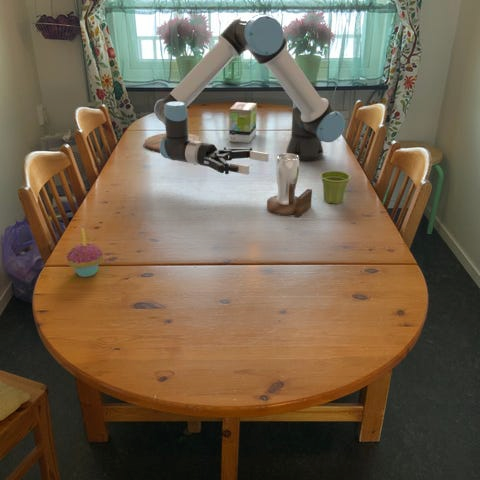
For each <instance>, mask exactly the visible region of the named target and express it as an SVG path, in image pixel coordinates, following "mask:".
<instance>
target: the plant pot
mask: <svg viewBox="0 0 480 480" xmlns="http://www.w3.org/2000/svg"><path fill="white" fill-rule="evenodd" d="M320 178H321V182H322V189H323V200H324V202H326V203H327V204H331V203H332V204H335V205H336V204H341V203H342V202H343V201H344V198H345V193H346V189H347V185H348V183H349V180H350V179H351V175H350V174H349V173H347V172H343V171H341V170H339V171H337V170H328V171H324V172H321V173H320Z"/></svg>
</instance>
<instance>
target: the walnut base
mask: <svg viewBox="0 0 480 480" xmlns="http://www.w3.org/2000/svg"><path fill="white" fill-rule="evenodd" d="M277 196H278V194H277V195H274V196H271V197H269V198H267V201H266V209H267V210H268V212H269V213H271V214H273V215H277V216H284V217H285V216H286V217H291V216H295V217H296V218H301V217H303V215H304V214H306V212H308V211H309V210H310V209H311V207H312V196H313V189H310V188H307V189H306V190H305V191H303V192H302V193H301V194H300V195H299V196H296V195H295V200H296V202H295V204H293V205H290V206H283V205H280V204H278V203H277V202H276V200H277Z"/></svg>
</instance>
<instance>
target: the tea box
mask: <svg viewBox="0 0 480 480" xmlns="http://www.w3.org/2000/svg"><path fill="white" fill-rule="evenodd" d="M257 112H258V104H257V102H242V101H241V102H240V101H237V102H235V103H234V104H233V105H232V106H231V107H230V108H229V123H228V124H229V125H228V126H229V127H228V129H229V132H228V141H229V142H234V143H235V142H236V143H244V144H245V143H246V144H247V143H248V144H250V143H251V142H252V140H253V139H254V137H255V136H256V133H257V116H258V115H257V114H258V113H257Z"/></svg>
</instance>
